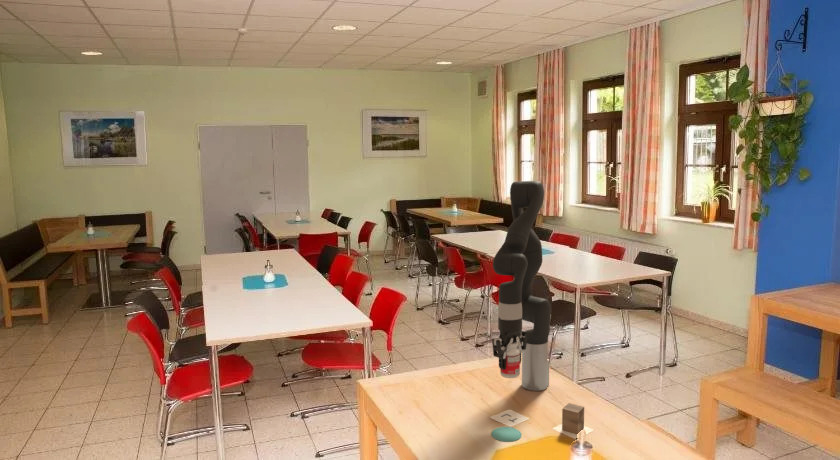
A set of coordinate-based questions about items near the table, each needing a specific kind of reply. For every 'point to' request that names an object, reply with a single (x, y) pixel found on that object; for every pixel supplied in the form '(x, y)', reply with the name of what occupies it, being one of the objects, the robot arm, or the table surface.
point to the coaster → (506, 434)
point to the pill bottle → (512, 362)
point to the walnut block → (573, 418)
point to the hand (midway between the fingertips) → (510, 366)
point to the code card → (509, 418)
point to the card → (559, 429)
